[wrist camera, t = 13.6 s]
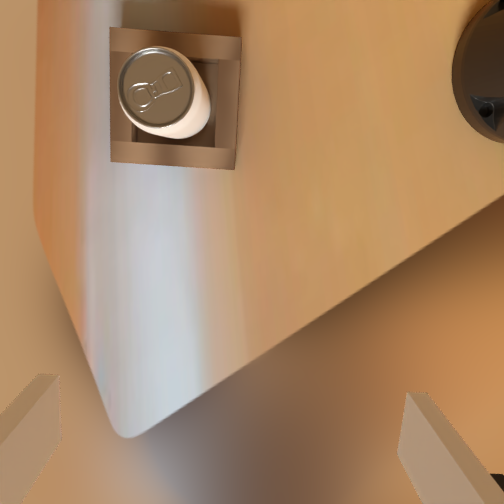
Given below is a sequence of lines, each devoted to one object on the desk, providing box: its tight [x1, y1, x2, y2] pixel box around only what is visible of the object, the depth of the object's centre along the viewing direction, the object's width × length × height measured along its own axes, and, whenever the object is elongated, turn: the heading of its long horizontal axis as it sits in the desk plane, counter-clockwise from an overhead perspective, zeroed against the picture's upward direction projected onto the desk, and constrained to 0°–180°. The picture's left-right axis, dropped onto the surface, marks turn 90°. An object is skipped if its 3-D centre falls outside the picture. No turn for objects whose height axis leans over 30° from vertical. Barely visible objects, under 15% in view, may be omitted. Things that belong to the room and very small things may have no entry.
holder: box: [110, 27, 242, 170], centre depth 42 cm, size 12×12×4 cm
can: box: [117, 46, 211, 139], centre depth 37 cm, size 6×6×12 cm
